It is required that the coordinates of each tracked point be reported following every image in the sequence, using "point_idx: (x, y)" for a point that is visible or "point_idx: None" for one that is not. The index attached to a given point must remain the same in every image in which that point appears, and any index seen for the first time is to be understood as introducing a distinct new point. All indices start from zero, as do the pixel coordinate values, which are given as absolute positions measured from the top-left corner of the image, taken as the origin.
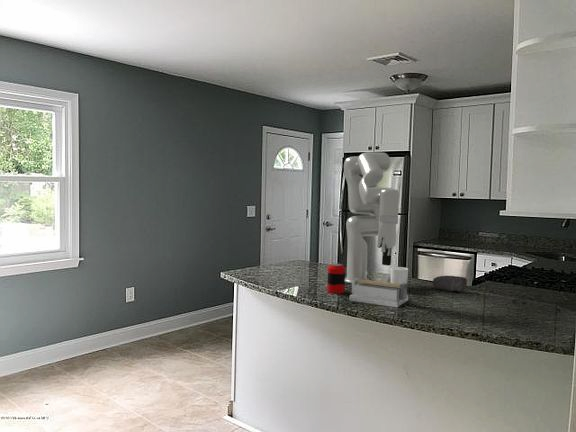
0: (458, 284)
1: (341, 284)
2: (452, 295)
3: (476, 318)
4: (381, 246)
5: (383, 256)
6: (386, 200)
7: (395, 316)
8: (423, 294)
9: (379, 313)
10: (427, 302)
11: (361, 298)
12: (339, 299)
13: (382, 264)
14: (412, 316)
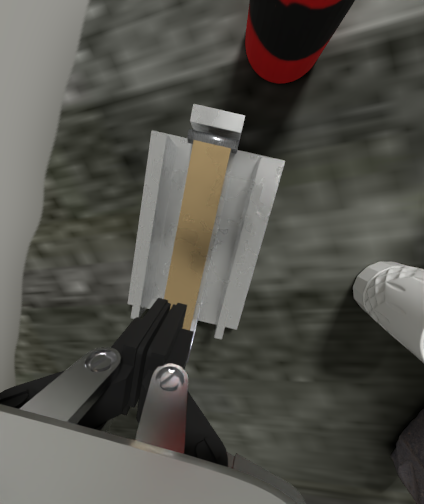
0: (407, 479)
1: (263, 48)
2: (344, 431)
3: None
4: (69, 437)
5: (129, 345)
6: None
7: (44, 297)
8: (335, 361)
9: (49, 256)
10: (230, 369)
11: (146, 183)
12: (157, 95)
13: (158, 299)
14: (66, 335)
